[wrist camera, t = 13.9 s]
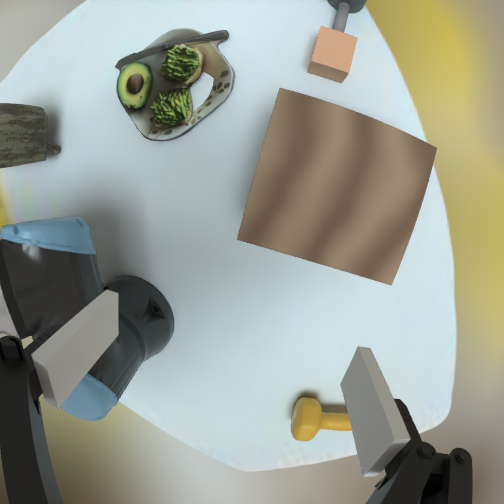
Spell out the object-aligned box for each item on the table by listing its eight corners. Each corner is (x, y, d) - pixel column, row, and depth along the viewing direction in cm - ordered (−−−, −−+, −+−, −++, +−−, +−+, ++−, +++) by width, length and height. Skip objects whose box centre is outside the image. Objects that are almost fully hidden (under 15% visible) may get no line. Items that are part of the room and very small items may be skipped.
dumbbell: (388, 394, 49) (399, 422, 41) (370, 423, 52) (378, 450, 44) (299, 386, 50) (300, 418, 42) (287, 416, 53) (286, 447, 45)
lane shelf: (249, 218, 42) (236, 239, 30) (280, 111, 37) (279, 87, 25) (363, 253, 42) (391, 285, 30) (396, 151, 37) (436, 147, 25)
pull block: (304, 71, 35) (311, 41, 25) (330, -18, 30) (339, -56, 19) (344, 84, 35) (364, 59, 25) (365, -6, 30) (383, -42, 19)
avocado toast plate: (203, 6, 33) (195, -7, 29) (266, 81, 37) (264, 72, 32) (108, 77, 38) (93, 71, 33) (158, 156, 41) (145, 155, 37)
